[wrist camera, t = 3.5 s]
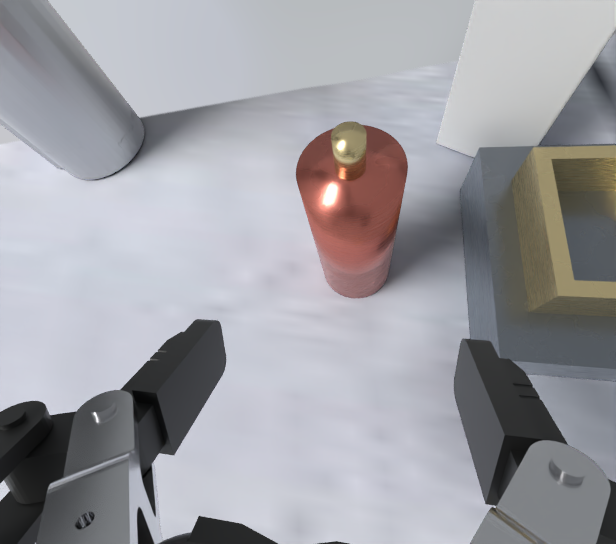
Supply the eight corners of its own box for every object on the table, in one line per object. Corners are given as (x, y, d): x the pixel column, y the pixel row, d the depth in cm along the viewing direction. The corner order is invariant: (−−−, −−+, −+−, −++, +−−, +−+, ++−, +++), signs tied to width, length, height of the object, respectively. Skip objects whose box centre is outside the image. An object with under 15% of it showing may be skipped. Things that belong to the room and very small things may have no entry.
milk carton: (434, 145, 29) (538, -239, 12) (471, 89, 31) (610, -321, 13) (517, 176, 27) (800, -243, 10) (552, 115, 29) (850, -342, 11)
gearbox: (472, 369, 22) (525, 351, 15) (459, 190, 27) (495, 111, 20) (710, 389, 20) (911, 379, 13) (649, 189, 25) (769, 99, 18)
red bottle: (321, 296, 26) (279, 188, 13) (326, 238, 28) (294, 92, 15) (388, 299, 25) (414, 187, 12) (389, 239, 27) (413, 85, 14)
